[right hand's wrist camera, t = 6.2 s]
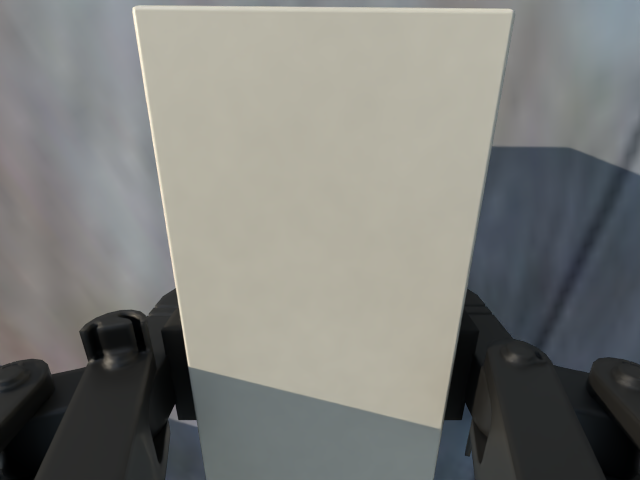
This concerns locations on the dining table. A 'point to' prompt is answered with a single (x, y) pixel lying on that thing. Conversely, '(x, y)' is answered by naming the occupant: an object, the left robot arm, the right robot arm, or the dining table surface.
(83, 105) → the dining table surface
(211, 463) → the beam
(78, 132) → the dining table surface
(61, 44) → the dining table surface
